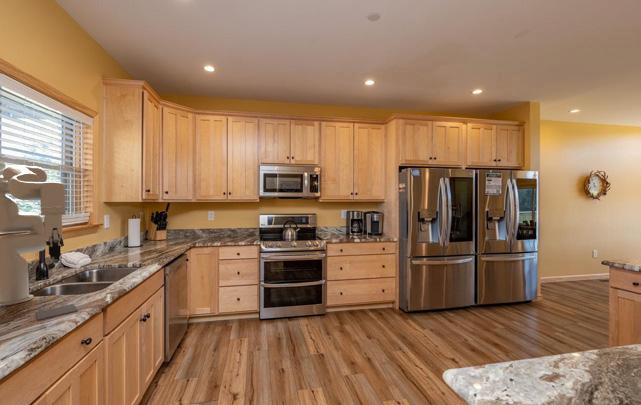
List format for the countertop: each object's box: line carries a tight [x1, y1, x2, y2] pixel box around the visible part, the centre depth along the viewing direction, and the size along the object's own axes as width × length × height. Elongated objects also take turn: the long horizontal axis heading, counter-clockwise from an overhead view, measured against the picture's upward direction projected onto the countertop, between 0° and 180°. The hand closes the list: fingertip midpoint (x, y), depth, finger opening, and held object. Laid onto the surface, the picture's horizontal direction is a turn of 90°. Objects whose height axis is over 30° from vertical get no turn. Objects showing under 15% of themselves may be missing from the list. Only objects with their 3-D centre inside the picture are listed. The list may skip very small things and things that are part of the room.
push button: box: [46, 238, 64, 264], centre depth 117 cm, size 7×5×10 cm
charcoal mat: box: [35, 303, 79, 322], centre depth 117 cm, size 12×12×1 cm
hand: (54, 254), depth 117 cm, fingers closed on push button, 4 cm apart
